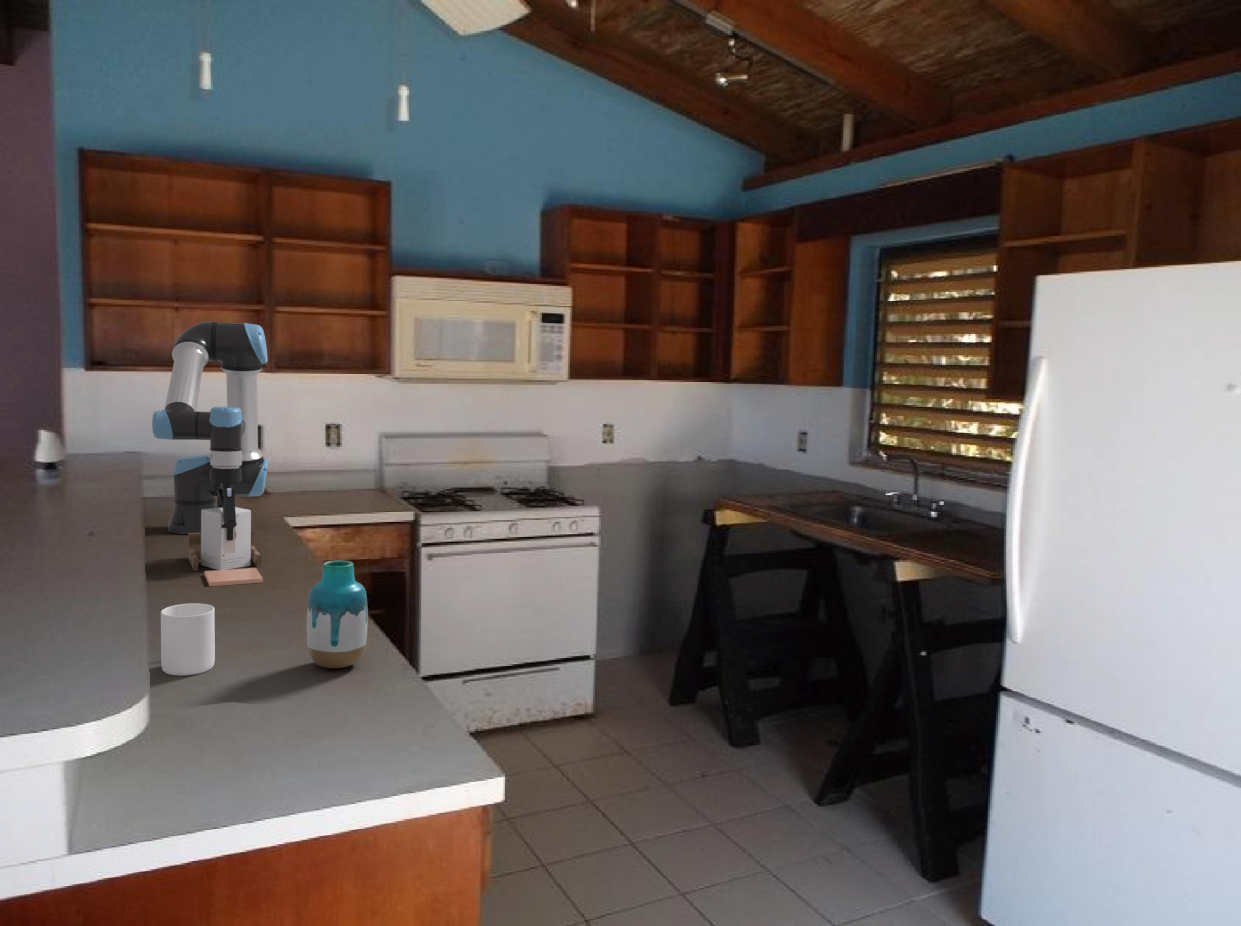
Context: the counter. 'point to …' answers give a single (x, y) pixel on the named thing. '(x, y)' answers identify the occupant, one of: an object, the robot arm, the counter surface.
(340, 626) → the vase
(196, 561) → the wooden u-shaped frame
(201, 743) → the counter surface
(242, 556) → the supplement box
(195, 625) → the mug
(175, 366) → the robot arm
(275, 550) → the counter surface
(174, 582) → the counter surface
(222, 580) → the terracotta tile
